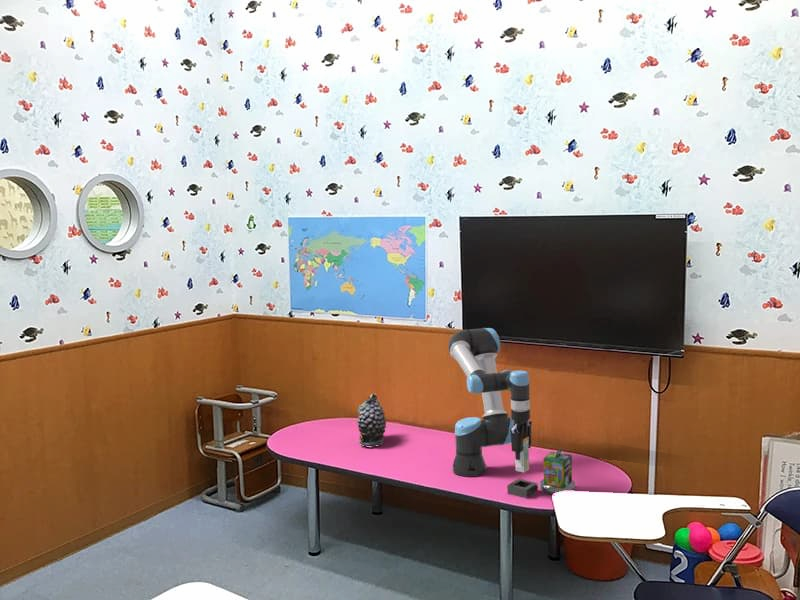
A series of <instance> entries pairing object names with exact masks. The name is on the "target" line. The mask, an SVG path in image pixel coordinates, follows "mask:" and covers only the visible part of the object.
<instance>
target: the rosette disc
mask: <svg viewBox="0 0 800 600" xmlns="http://www.w3.org/2000/svg"><path fill="white" fill-rule="evenodd" d="M539 485H540V486H539V487H540V491H541V492H543V493H544V494H547V495H549V496H553V495H552V494H553V493H555V492H559V491H563V490H575V491H576V482H575V481H574V480H573V479H572V482H571V483H569V484H568V485H567V486H566V487H565V488H560V487H555V486H550V485H544V478H543V479H541V480H540V484H539Z"/></svg>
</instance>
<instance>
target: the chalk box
mask: <svg viewBox="0 0 800 600" xmlns="http://www.w3.org/2000/svg"><path fill="white" fill-rule="evenodd" d="M572 461H573V455H572V454H568V453H563V452H562V447H559V449H557V450H556V451H550V452H549V453H547V454H546V455H545V456H544V457H543V479H544V485H550V486H555V487H560V488H565V487H566V486H567V485H568V484H569V483H571V482H572V480H573V475H572V474H573V465H572V463H573V462H572Z"/></svg>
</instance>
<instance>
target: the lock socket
mask: <svg viewBox="0 0 800 600" xmlns="http://www.w3.org/2000/svg"><path fill="white" fill-rule="evenodd" d="M506 488H507V494H508V495H512V496H515V497H519V498H523V499H528V498H530V497H531V496H533V495H535V494H536V493H538V492H539V482H535V481H531V480H526V479H522V478H518V479H516V480H514V481H512V482H510V483H509V484H507V487H506Z"/></svg>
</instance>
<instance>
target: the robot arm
mask: <svg viewBox="0 0 800 600" xmlns="http://www.w3.org/2000/svg"><path fill="white" fill-rule="evenodd" d="M500 340H501V339H500V336H499V334H498V333H497V331H496V330H495V329H494V328H492V327H491V328H490V327H487V328H486V327H482V328H472V329H471V328H470V329H461V330H458V331H456V332H455V333H454V334H453V335H452V336H451V337H450V339H449V341H448V345H447V348H448V349H447V350H448V353H449V354H450V356H451V358H452V359H453V360H455V361H456V362H457V363H458V365H459V366H460V368H461V370H462V371H463V373H464V374H465V376H466V387H467V390H468V392H469V393H471V394H481V397H482V403H483V410H484V414H483V415H482V419H481V418H480V417H476V416H473V417H472V416H471V417H469V416H468V417H465V418H462V419H459V420H458V421H457V422H455V426H454V435H455V436H454V438H455V441H454V442H455V457H454V460H453V463H452V473H454V475H457V476H460V477H470V478H471V477H478V476H482V475H484V474H486V473H487V463H486V461H485V458H484V455H483V448H485V447H486V448H487V447H494V446H504V445H508V444H511V452H514V459H516V467H520V468H522V467H523V465H522V452H521V439H522V436H529V439H528V446H529V449H531V446H532V424H533V423H532V421H531V420H530V419H531V410H530V408H531V407H530V404H531V402H530V401H531V400H530V398H531V397H530V375H529V374H530V373H529V372H528V371H526V370H521V369H519V370H510V369H505V370H502V371H501V372H498V369H497V363H496V358H497V357H498V352H500V350H501V341H500ZM503 391H509V392H510V409H511V410H510V413H511V414H510V415H511V416H510V417H509V414H508V412H507V411H505V409H504V403H503V399H502V392H503Z"/></svg>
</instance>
